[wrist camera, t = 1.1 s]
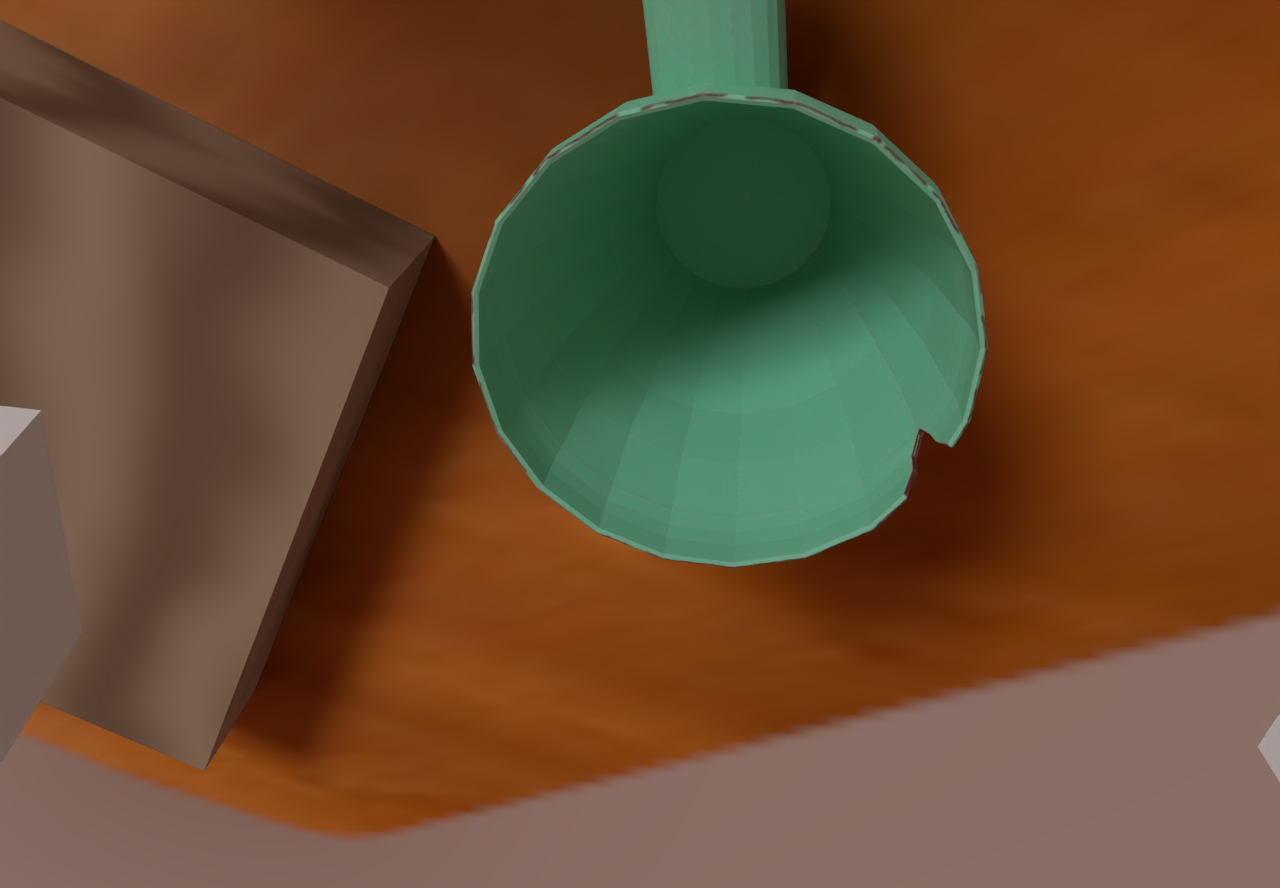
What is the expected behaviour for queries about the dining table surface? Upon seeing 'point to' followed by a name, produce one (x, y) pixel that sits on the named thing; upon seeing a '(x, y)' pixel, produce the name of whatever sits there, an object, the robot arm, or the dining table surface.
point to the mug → (727, 308)
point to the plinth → (180, 379)
